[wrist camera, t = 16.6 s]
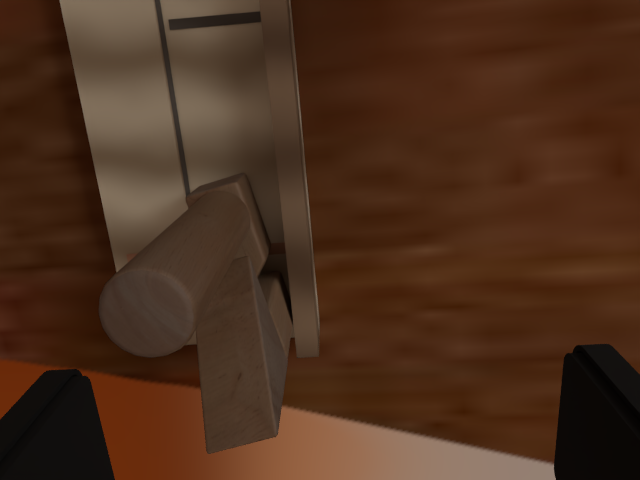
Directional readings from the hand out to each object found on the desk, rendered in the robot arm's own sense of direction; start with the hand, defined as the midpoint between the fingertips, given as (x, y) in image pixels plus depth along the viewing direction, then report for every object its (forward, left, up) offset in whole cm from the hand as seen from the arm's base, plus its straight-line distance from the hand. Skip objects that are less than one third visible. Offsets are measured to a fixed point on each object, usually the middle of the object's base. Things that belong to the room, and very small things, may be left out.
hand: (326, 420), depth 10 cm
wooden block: (+5, -6, -26) cm, 27 cm away
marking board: (-2, -8, -28) cm, 29 cm away
